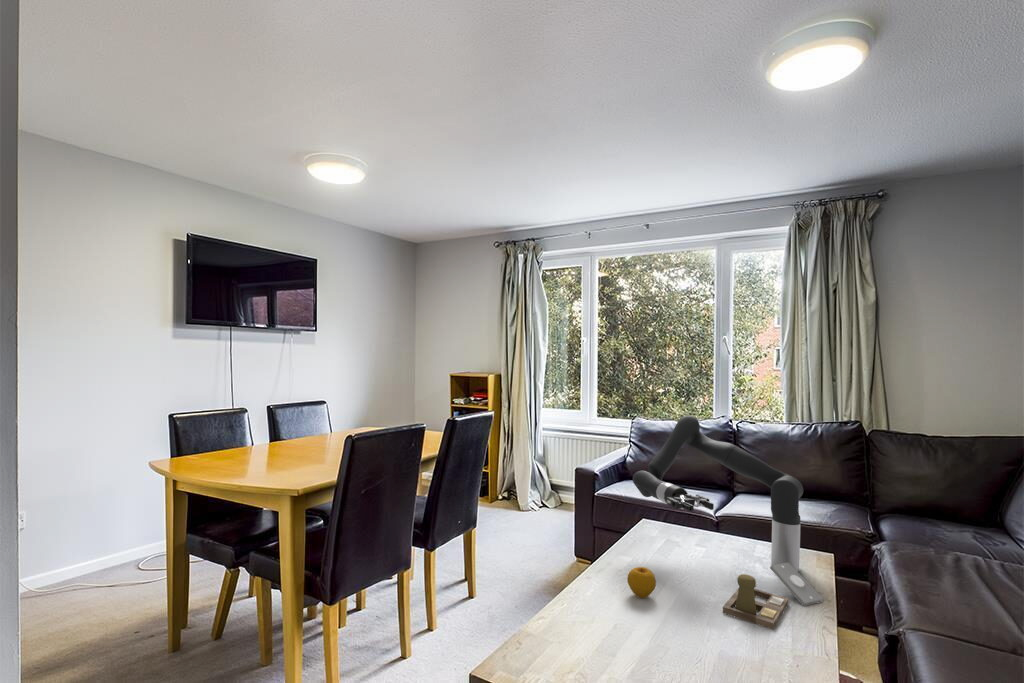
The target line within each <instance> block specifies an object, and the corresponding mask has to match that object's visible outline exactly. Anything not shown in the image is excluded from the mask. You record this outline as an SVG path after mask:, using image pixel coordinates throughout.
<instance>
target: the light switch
mask: <svg viewBox="0 0 1024 683" xmlns="http://www.w3.org/2000/svg"><path fill="white" fill-rule="evenodd" d="M769 569H770V570H771V571H772V572H773V573H774V574H775V575H776V577H777V578H778V579H779V580H780V581H781V583H783V584H784V586H785V587H786V588H787V589H788V590H789V592H791V594H792V595H793V596H794V597H795V599H796V600H797V601H799V603H800V604H801V605H802V606H803V605H806V606H809V604H810V605H813V603H814V604H817V602H819V603H822V602H823V600H824V599H823V598H822V596H820V595H819V593H818V592H817V591H816V590H815V589H814V588H813V587H812V585H810V584H809V583H808V581H806V579H805V578H804V577H803V576H802V575H801V574H800V573H799V572H797V571H796V570H795V569H794V568H793V567H792V565H791V564H790V563H783V564H778V565H772V566H771V565H770V567H769ZM821 601H822V602H821Z"/></svg>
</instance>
